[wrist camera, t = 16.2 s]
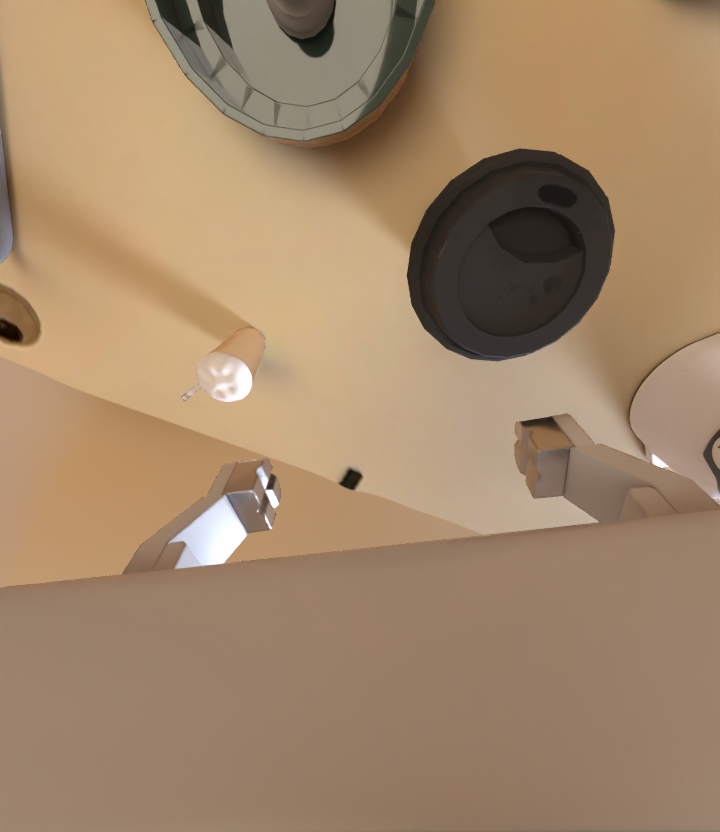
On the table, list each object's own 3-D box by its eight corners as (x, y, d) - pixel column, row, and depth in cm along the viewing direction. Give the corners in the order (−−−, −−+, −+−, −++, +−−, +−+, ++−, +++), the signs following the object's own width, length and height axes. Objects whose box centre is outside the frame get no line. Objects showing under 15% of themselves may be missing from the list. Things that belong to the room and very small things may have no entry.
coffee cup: (552, 181, 29) (690, 183, 17) (491, 316, 36) (560, 392, 23) (417, 140, 28) (459, 109, 16) (379, 288, 34) (386, 351, 22)
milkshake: (211, 330, 37) (166, 374, 28) (260, 314, 36) (227, 355, 27) (233, 369, 39) (197, 421, 31) (279, 355, 38) (255, 405, 30)
